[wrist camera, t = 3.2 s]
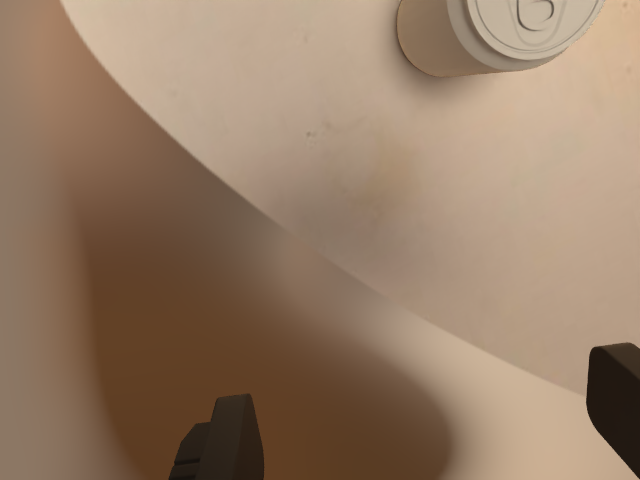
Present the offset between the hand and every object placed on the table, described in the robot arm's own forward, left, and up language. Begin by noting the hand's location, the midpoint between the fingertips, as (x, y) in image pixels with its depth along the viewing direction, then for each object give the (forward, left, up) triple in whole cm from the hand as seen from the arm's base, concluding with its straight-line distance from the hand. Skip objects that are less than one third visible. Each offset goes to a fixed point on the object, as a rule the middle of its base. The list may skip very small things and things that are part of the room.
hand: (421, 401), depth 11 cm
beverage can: (+8, +10, -22) cm, 26 cm away
